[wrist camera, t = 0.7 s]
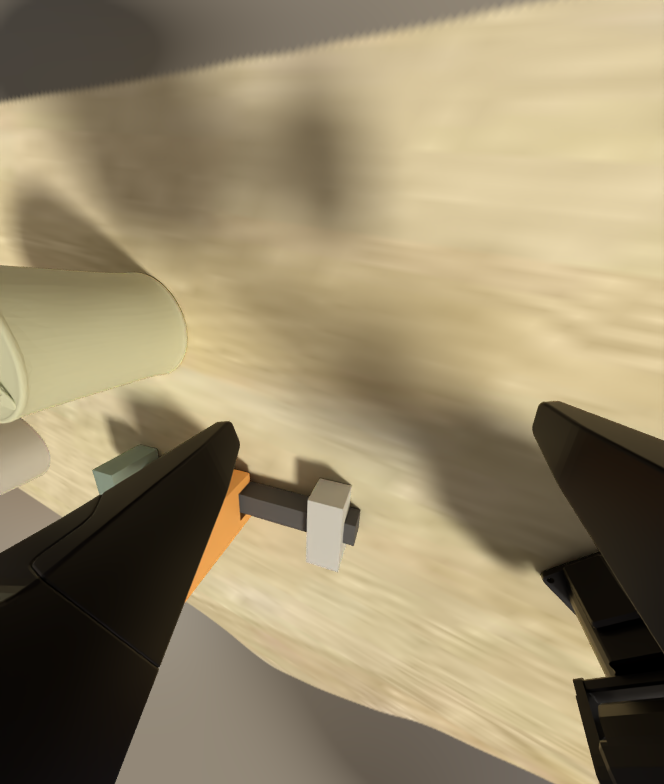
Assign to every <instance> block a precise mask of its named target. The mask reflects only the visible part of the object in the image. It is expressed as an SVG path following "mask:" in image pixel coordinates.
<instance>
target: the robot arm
mask: <svg viewBox="0 0 664 784" xmlns="http://www.w3.org/2000/svg"><path fill="white" fill-rule="evenodd" d="M532 430H533V434H534V437H535V439H536V441H537V443H538V445H539V447H540V449H541V451H542V453H543V455H544V457H545V459H546V462H547V464H548V466H549V468H550V470H551V472H552V474H553V476H554V478H555V480H556V482H557V484H558V485H559V487H560V489H561V490H562V492H563V494H564V495H565V497H566V498H567V500H568V502H569V503H570V505H571V506H572V508H573V510H574V511H575V513H576V514H577V516H578V517H579V519H580V521H581V522H582V524H583V525H584V527H585V529H586V530H587V532H588V533H589V535H590V537H591V538H592V540H593V541H594V543H595V545H596V546H597V548H598V549H599V551H600V552H598V553H595V554H592V555H589V556H587V557H584V558H581V559H578V560H575V561H572V562H569V563H567V564H564V565H561V566H558V567H555V568H552V569H549V570H547V571H544V572H542V573H541V577H542V580H543V582H544V583H545V584H546V585H547V586H548V587H549V588H550V589H551V590H552V591H553V592H554V593H555V594H556V595H557V596H558V597H559V598H560V599H561V600H562V601H563V602H564V603H565V605H566V606H567V607H568V608H569V609H570V610H571V611H572V612H573V613H574V614H575V615H576V616H577V618H578V620H579V622H580V624H581V626H582V628H583V630H584V632H585V634H586V636H587V638H588V640H589V642H590V645H591V647H592V649H593V651H594V653H595V655H596V657H597V659H598V661H599V663H600V665H601V667H602V669H603V671H604V674H605V676H606V677H601V678H593V679H586V680H584V679H583V678H577V679H573V683H574V687H575V690H576V694H577V696H576V699H577V703H578V707H579V711H580V715H581V719H582V722H583V726H584V730H585V734H586V738H587V742H588V745H589V749H590V753H591V757H592V761H593V765H594V768H595V772H596V775H597V778H598V780H599V784H664V440H661V439H658V438H656V437H653V436H650V435H648V434H645V433H642V432H640V431H637V430H635V429H632V428H629V427H627V426H624V425H621V424H619V423H616V422H613V421H611V420H608V419H605V418H603V417H600V416H597V415H595V414H592V413H589V412H587V411H584V410H581V409H579V408H576V407H573V406H571V405H568V404H566V403H563V402H560V401H550V402H542V403H540V404H539V406H538V409H537V412H536V416H535V419H534V423H533V427H532ZM239 448H240V442H239V439H238V436H237V434H236V431H235V429H234V426H233V424H232V423H231V422H229V421H224V422H217V423H215V424H213V425H212V426H210V427H208V428H207V429H205V430H204V431H202V432H200V433H199V434H197V435H195V436H194V437H192V438H191V439H189V440H187V441H186V442H184V443H183V444H181V445H179V446H178V447H176V448H174V449H173V450H171V451H170V452H168V453H166V454H165V455H163V456H162V457H160V458H158V459H157V460H155V461H153V462H152V463H150V464H149V465H147V466H145V467H144V468H142V469H141V470H139V471H137V472H136V473H134V474H132V475H131V476H129V477H128V478H126V479H124V480H123V481H121V482H120V483H118V484H116V485H115V486H113V487H112V488H110V489H108V490H107V491H105V492H104V493H103V494H102V495H98V496H97V497H95V498H94V499H92V500H90V501H89V502H87V503H86V504H84V505H82V506H81V507H79V508H77V509H76V510H74V511H72V512H71V513H69V514H67V515H66V516H64V517H62V518H61V519H59V520H57V521H56V522H54V523H52V524H50V525H49V526H47V527H45V528H43V529H42V530H40V531H38V532H36V533H35V534H33V535H31V536H29V537H28V538H26V539H24V540H22V541H21V542H19V543H17V544H15V545H14V546H12V547H10V548H8V549H6V550H5V551H3V552H1V553H0V784H115V782H116V779H117V777H118V774H119V771H120V769H121V766H122V764H123V761H124V758H125V756H126V753H127V751H128V748H129V746H130V743H131V740H132V738H133V735H134V733H135V730H136V728H137V725H138V722H139V720H140V717H141V715H142V712H143V709H144V707H145V704H146V702H147V699H148V697H149V694H150V691H151V689H152V686H153V684H154V681H155V678H156V676H157V673H158V670H159V668H158V667H160V665H161V662H162V659H163V657H164V655H165V652H166V649H167V647H168V644H169V642H170V639H171V636H172V634H173V631H174V629H175V626H176V623H177V621H178V618H179V616H180V613H181V611H182V608H183V605H184V603H185V600H186V598H187V595H188V593H189V590H190V587H191V585H192V582H193V580H194V577H195V575H196V572H197V569H198V567H199V564H200V562H201V559H202V556H203V554H204V551H205V549H206V546H207V544H208V541H209V538H210V536H211V533H212V531H213V528H214V525H215V523H216V520H217V518H218V515H219V513H220V510H221V507H222V505H223V502H224V500H225V497H226V494H227V491H228V488H229V485H230V481H231V478H232V474H233V470H234V467H235V463H236V459H237V455H238V452H239Z"/></svg>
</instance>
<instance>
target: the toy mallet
mask: <svg viewBox="0 0 664 784" xmlns="http://www.w3.org/2000/svg"><path fill="white" fill-rule="evenodd" d="M158 458H159V456H158V451H157V449H155V448H151V447H147V446H143V445H138V446H136V447H134V448H132V449H130V450H128V451H127V452H125V453H123V454H121V455H119V456H117V457H115V458H114V459H112V460H110V461H108V462H106V463H104V464H102V465H100V466H99V467H97V468H95V469H93V470H92V471H93V474H94V478H95V481H96V484H97V488H98V491H99V494H100V495H102V494H103V493H104V492H105V491H107V490H108V489H110V488H112V487H113V486H115V485H116V484H118V483H120V482H121V481H123V480H124V479H126V478H128V477H129V476H131V475H132V474H134V473H136V472H137V471H139V470H141V469H142V468H144V467H145V466H147V465H149V464H150V463H152V462H153V461H155V460H157V459H158ZM351 487H352V486H351V485H346V484H342V483H338V482H334V481H330V480H326V479H321V478H320V479H319V480H318V482H317V484H316V486H315V488H314V489H313V491H312V493H311V495H310V497H309V496H305V495H301V494H297V493H293V492H290V491H286V490H282V489H278V488H274V487H270V486H266V485H263V484H259V483H255V482H251V481H250V482H249V483H248V484H247V485H246V486H245V487H244V489H243V490H242V491H241V492H240V493H239V494H238V496H239V508H240V512H241V513H244V514H247V515H251V516H254V517H257V518H261V519H264V520H268V521H271V522H274V523H278V524H281V525H284V526H288V527H291V528H295V529H298V530H301V531H305V532H307V543H306V562H308V563H311V564H314V565H317V566H320V567H323V568H326V569H329V570H332V571H335V572H338V570H339V567H340V564H341V560H342V557H343V554H344V550H345V547H346V544H349V545H352V546H354V543H355V539H356V535H357V532H358V527H359V518H360V510H359V509H355V508H351V507H350V498H351Z"/></svg>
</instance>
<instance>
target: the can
mask: <svg viewBox="0 0 664 784" xmlns="http://www.w3.org/2000/svg"><path fill="white" fill-rule="evenodd" d="M186 349H187V329H186V324H185V320H184V317H183V314H182V312H181V309H180V307H179V305H178V304H177V302H176V300H175V299H174V297H173V296H172V295H171V293H170V292H169V291H168V290H167V289H166V288H165V287H164V286H163V285H162V284H161V283H160V282H158V281H157V280H156V279H154V278H152V277H150V276H148V275H146V274H143V273H137V272H129V273H106V272H90V271H74V270H60V269H46V268H31V267H17V266H4V265H0V423H9V422H12V421H15V420H16V419H19V418H21V417H24V416H27V415H30V414H33V413H36V412H39V411H42V410H45V409H48V408H51V407H55V406H58V405H61V404H64V403H67V402H71V401H74V400H77V399H80V398H83V397H87V396H90V395H93V394H96V393H99V392H103V391H106V390H109V389H112V388H115V387H119V386H122V385H125V384H129V383H132V382H135V381H139V380H142V379H146V378H149V377H153V376H158V375H165V374H168V373H170V372H172V371H174V370H175V369H176V368H177V367H178V366H179V365H180V364H181V362H182V360H183V358H184V356H185V353H186Z"/></svg>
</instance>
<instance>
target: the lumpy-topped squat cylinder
mask: <svg viewBox="0 0 664 784" xmlns="http://www.w3.org/2000/svg"><path fill="white" fill-rule="evenodd" d="M49 467H50V452H49V449H48V447H47V445H46V443H45V442H44V440H43V439H42V437H41V436H40V435H39V434H38V433H37V432H36V431H35V430H34V429H33V428H32V427H31V426H30V425H29V424H28V423H27V422H25V421H24V420H22V419H21V418H19V419H16V420H15V421H12V422H9V423H0V495H2V494H4V493H7V492H8V491H11V490H13V489H15V488H17V487H19V486H21V485H23V484H25V483H27V482H30V481H32V480H34V479H36V478H38V477H40V476H42V475H44V474H45V473H46V472H47V470H48V469H49Z"/></svg>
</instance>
